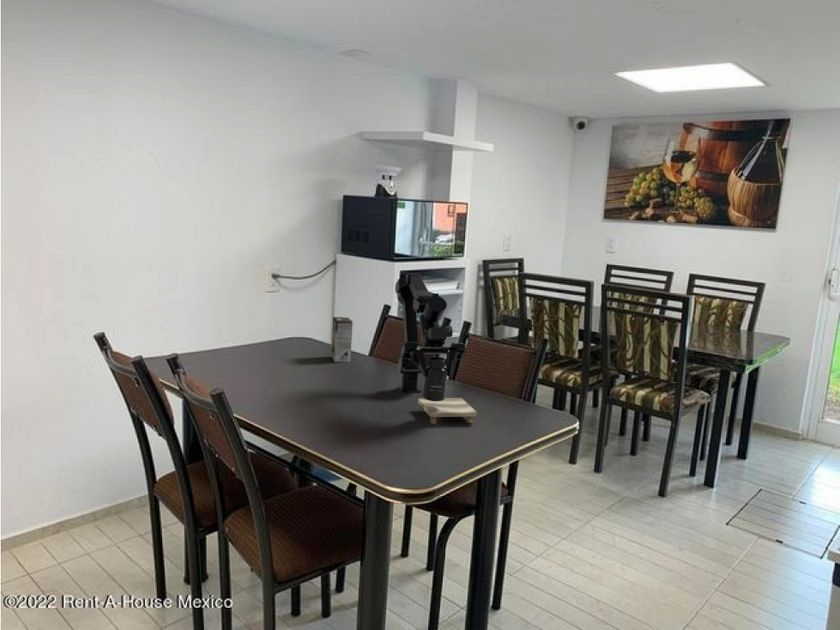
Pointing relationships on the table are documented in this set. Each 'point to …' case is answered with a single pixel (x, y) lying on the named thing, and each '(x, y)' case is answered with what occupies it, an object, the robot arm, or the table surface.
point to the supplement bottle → (435, 380)
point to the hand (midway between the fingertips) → (437, 376)
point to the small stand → (447, 409)
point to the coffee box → (341, 339)
